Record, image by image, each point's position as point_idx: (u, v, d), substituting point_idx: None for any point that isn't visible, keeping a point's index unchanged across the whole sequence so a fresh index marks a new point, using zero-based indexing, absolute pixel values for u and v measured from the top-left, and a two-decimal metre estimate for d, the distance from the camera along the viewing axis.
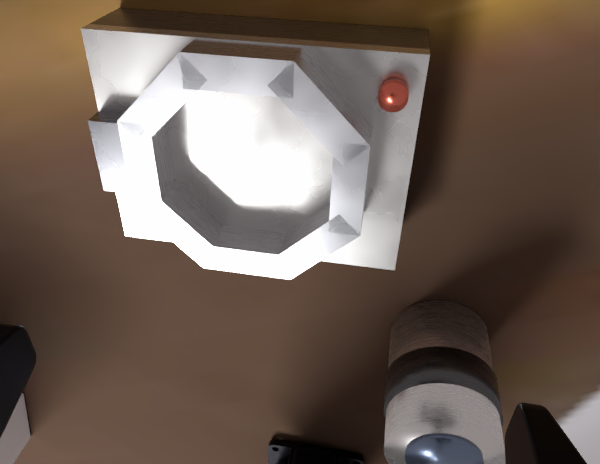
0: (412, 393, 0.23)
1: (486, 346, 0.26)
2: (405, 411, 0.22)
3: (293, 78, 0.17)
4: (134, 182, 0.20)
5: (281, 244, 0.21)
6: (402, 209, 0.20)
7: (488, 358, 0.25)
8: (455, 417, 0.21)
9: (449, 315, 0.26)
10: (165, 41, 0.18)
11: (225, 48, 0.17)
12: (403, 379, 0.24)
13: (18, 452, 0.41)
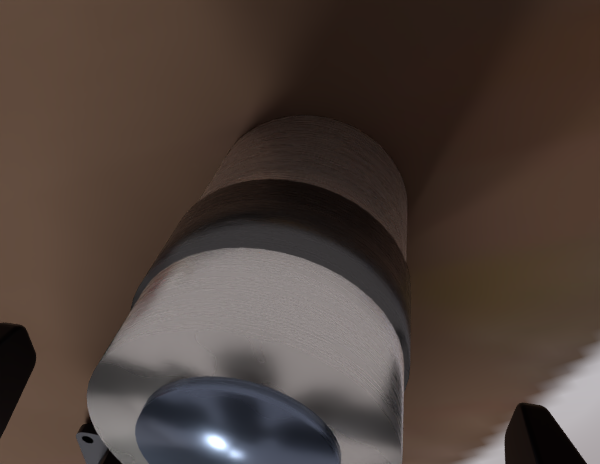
0: (162, 278, 0.09)
1: (390, 200, 0.11)
2: (129, 321, 0.08)
3: None
4: None
5: None
6: None
7: (390, 220, 0.11)
8: (238, 324, 0.07)
9: (310, 134, 0.12)
10: None
11: None
12: (162, 254, 0.09)
13: None
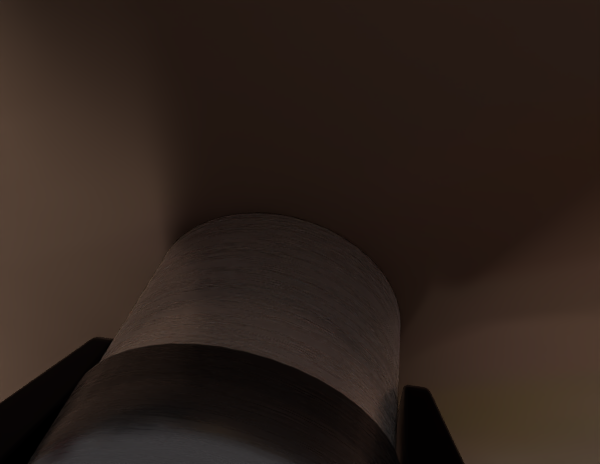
0: None
1: (375, 344, 0.08)
2: None
3: None
4: None
5: None
6: None
7: (373, 383, 0.08)
8: None
9: (266, 248, 0.09)
10: None
11: None
12: None
13: None
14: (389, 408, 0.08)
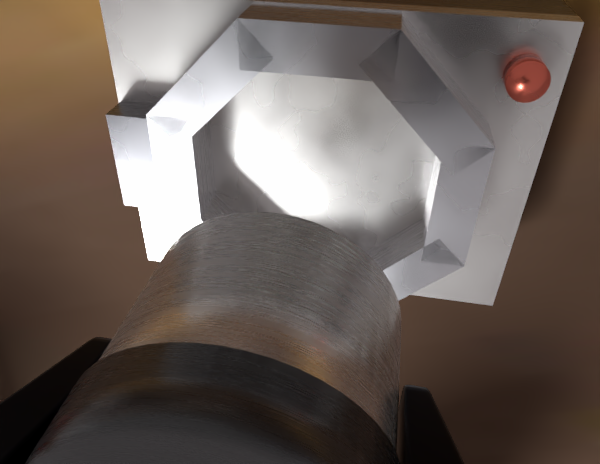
0: None
1: (375, 343, 0.08)
2: None
3: (397, 54, 0.12)
4: (166, 195, 0.15)
5: None
6: (513, 230, 0.16)
7: (374, 383, 0.08)
8: None
9: (266, 247, 0.08)
10: (212, 7, 0.14)
11: (299, 14, 0.12)
12: None
13: None
14: (390, 408, 0.08)
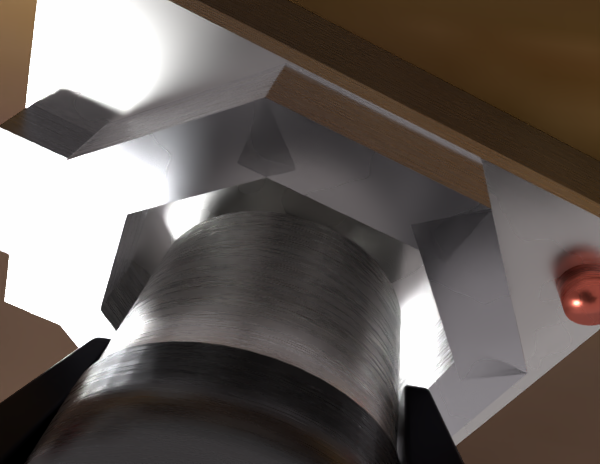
0: None
1: (376, 343, 0.08)
2: None
3: (469, 234, 0.08)
4: (58, 266, 0.10)
5: None
6: (480, 421, 0.13)
7: (374, 383, 0.08)
8: None
9: (267, 247, 0.08)
10: (222, 42, 0.09)
11: (352, 117, 0.08)
12: None
13: None
14: (390, 408, 0.08)
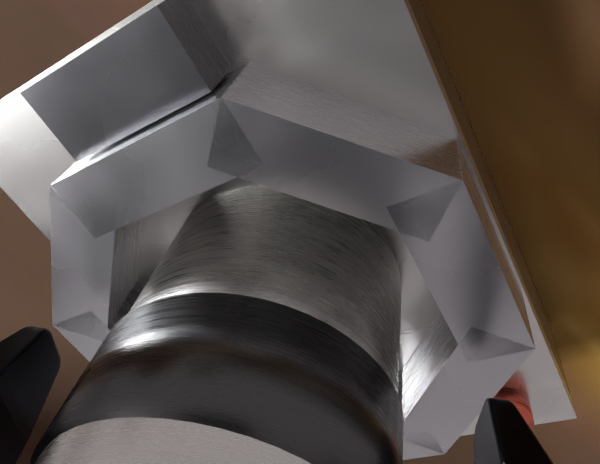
0: (55, 455, 0.06)
1: (378, 301, 0.09)
2: None
3: (503, 355, 0.10)
4: (108, 171, 0.09)
5: None
6: None
7: (377, 334, 0.08)
8: None
9: (277, 214, 0.09)
10: (422, 83, 0.09)
11: (487, 222, 0.09)
12: (68, 401, 0.07)
13: None
14: (391, 358, 0.09)
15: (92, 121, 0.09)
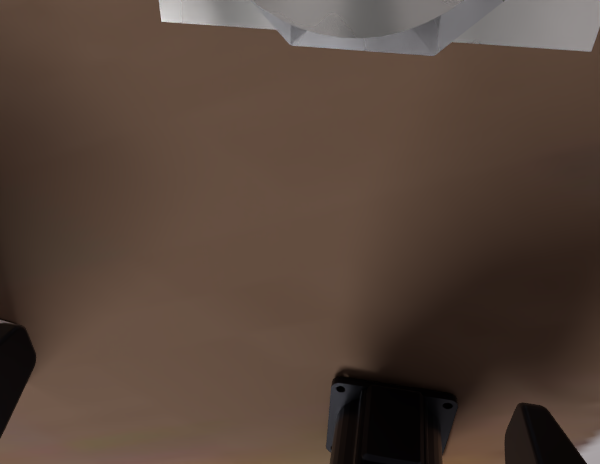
0: None
1: None
2: None
3: None
4: None
5: None
6: None
7: None
8: None
9: None
10: None
11: None
12: None
13: None
14: None
15: None
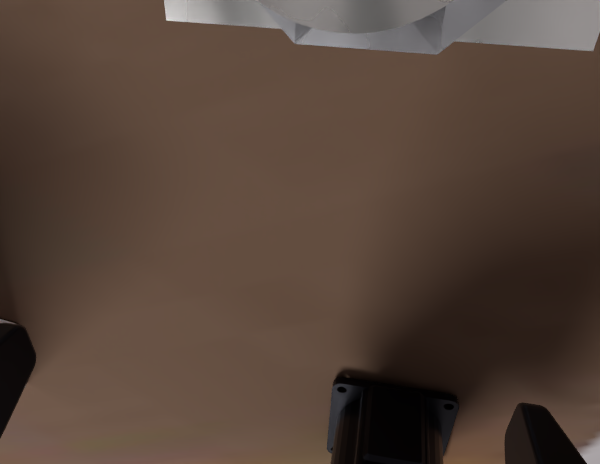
0: None
1: None
2: None
3: None
4: None
5: None
6: None
7: None
8: None
9: None
10: None
11: None
12: None
13: None
14: None
15: None
